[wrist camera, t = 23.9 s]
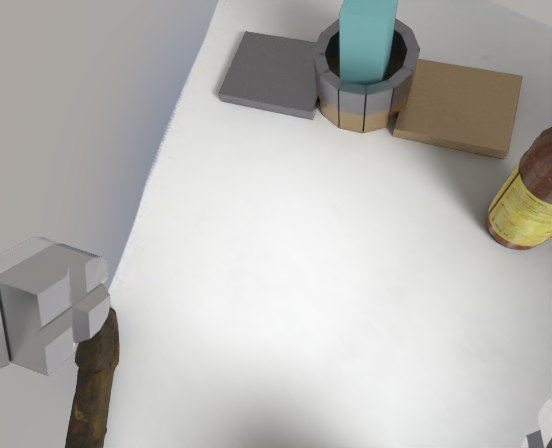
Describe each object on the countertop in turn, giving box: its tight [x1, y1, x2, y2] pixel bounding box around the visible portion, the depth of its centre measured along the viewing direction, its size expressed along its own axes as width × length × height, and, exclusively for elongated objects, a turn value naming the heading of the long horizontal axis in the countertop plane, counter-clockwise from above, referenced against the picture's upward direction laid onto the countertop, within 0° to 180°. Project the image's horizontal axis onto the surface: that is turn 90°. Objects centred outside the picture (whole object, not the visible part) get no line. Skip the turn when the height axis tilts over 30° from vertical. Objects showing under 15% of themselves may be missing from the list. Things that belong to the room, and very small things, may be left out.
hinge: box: [219, 18, 522, 159], centre depth 51 cm, size 34×11×7 cm, turn 72°
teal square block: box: [339, 0, 398, 86], centre depth 48 cm, size 4×4×14 cm
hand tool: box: [65, 308, 119, 448], centre depth 43 cm, size 19×4×5 cm, turn 177°
